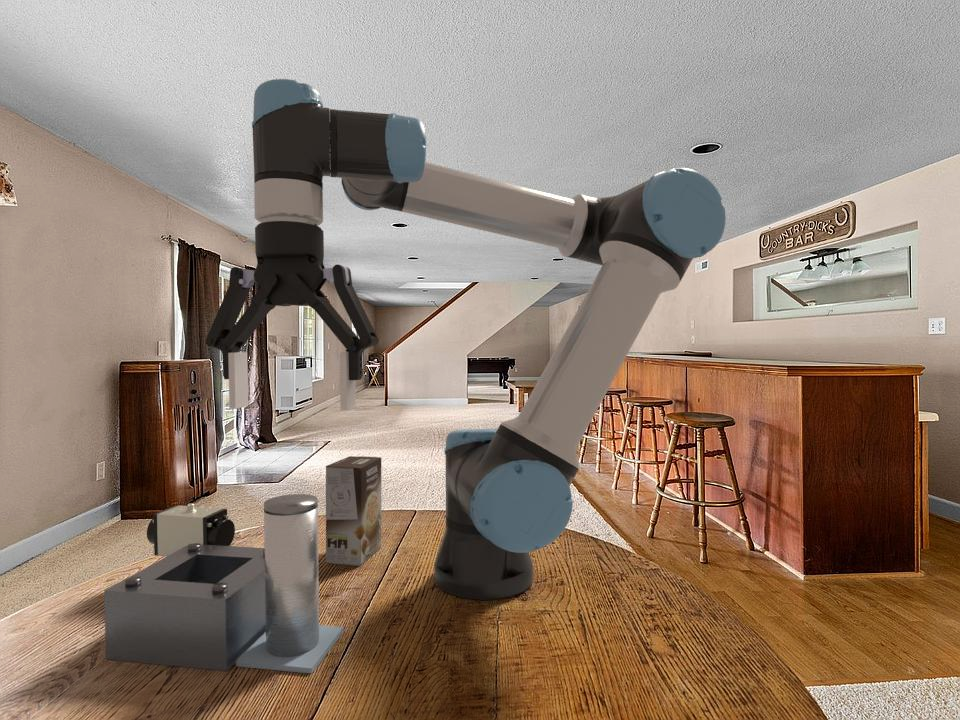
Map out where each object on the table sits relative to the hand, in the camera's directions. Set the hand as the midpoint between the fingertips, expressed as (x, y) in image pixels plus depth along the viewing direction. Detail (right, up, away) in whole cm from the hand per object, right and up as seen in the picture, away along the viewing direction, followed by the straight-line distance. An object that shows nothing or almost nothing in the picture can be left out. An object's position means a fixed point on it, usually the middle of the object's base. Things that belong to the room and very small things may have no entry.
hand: (292, 408), depth 66 cm
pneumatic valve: (-21, -28, +19) cm, 40 cm away
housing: (-12, -28, +5) cm, 31 cm away
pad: (0, -29, +1) cm, 29 cm away
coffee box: (+1, -28, +30) cm, 41 cm away
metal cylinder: (0, -28, +1) cm, 28 cm away
